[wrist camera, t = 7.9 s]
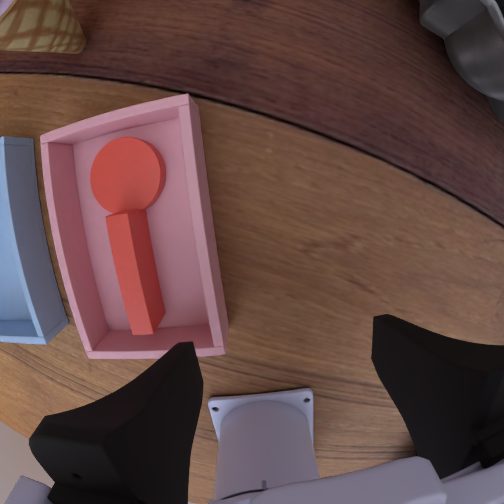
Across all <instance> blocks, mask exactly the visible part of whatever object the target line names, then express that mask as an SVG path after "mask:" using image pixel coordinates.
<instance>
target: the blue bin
mask: <svg viewBox="0 0 504 504" xmlns="http://www.w3.org/2000/svg"><path fill="white" fill-rule="evenodd" d="M68 324H69V322H68V319H67V316H66V313H65V310H64V306H63V303H62V300H61V296H60V293H59V289H58V286H57V282H56V278H55V275H54V271H53V267H52V262H51V258H50V254H49V249H48V245H47V240H46V235H45V230H44V224H43V219H42V213H41V207H40V200H39V193H38V185H37V176H36V167H35V155H34V139H33V138H23V137H10V136H3V137H1V138H0V342H12V343H28V344H48V343H49V342H50V341H51V340H52V339H53V338H54V337H55V336H56V335H57V334H58V333H59V332H60V331H61V330H62V329H63V328H64V327H65V326H67V325H68Z"/></svg>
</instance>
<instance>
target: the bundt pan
mask: <svg viewBox="0 0 504 504" xmlns="http://www.w3.org/2000/svg"><path fill="white" fill-rule="evenodd" d="M418 1H420V13H419V21H420V23H421V25H422V26H423V27H425V28H427V29H428V30H430V31H432V32H433V33H435V34H436V35H438V36H440V37H441V38H443V39H444V42H445V48H446V51H447V54H448V57H449V59H450V61H451V63H452V65H453V67H454V68H455V70H456V71H457V72H458V74H459V75H460V76H461V77H462V78H463V79H464V80H465V81H466V82H467V83H468V84H469V85H470V86H472V87H473V88H474V89H476V90H477V91H479V92H481V93H483V94H485V95H486V96H487V99H488V103H489V106H490V108H491V110H492V112H493V113H494V115H495V116H496V117H497V118H498V119H499V120H500V121H501V122H503V123H504V0H418Z"/></svg>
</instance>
